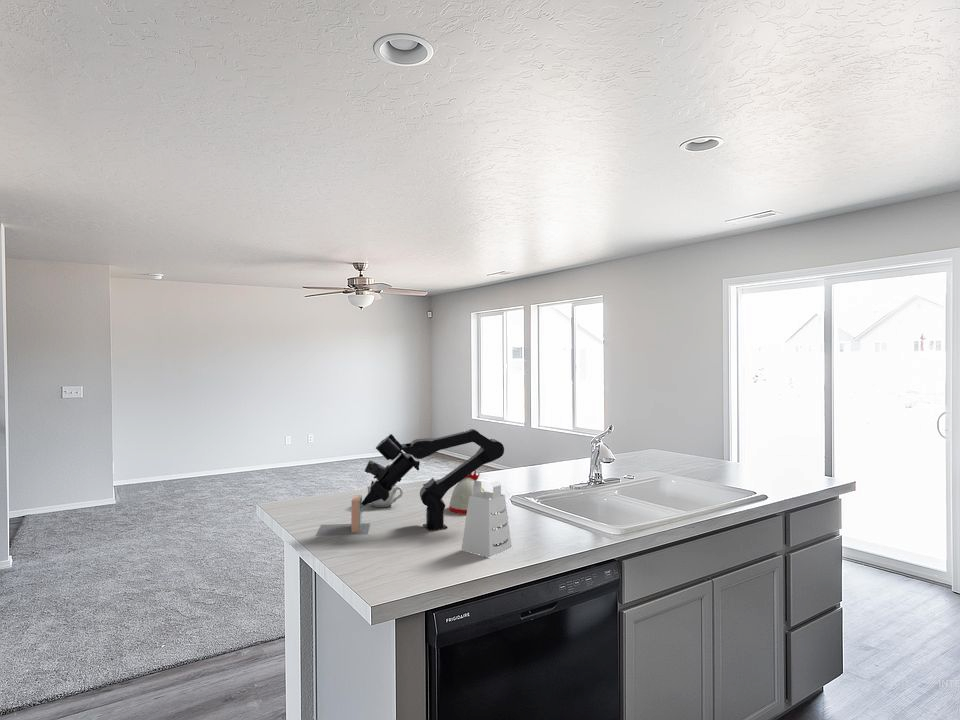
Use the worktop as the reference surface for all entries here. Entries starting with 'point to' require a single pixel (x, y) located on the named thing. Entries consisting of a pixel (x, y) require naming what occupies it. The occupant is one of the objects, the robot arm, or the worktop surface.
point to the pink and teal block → (356, 514)
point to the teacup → (390, 500)
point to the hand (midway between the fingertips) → (362, 504)
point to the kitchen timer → (463, 494)
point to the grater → (486, 521)
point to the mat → (341, 529)
